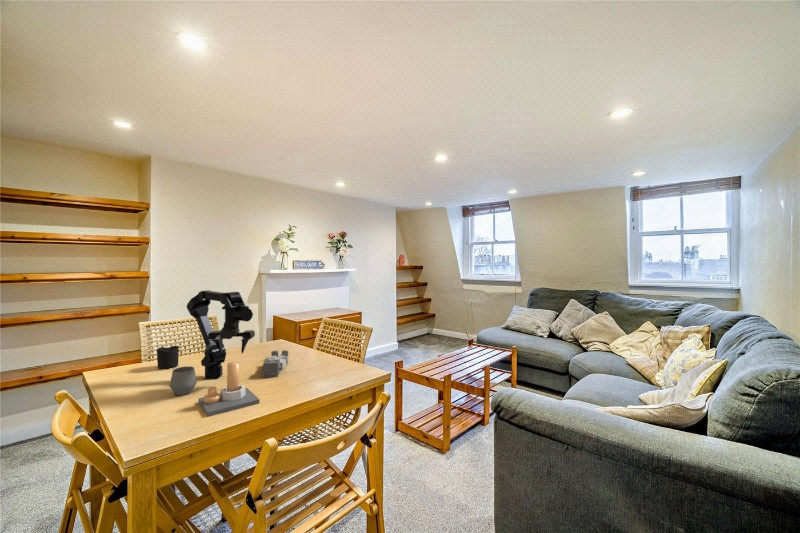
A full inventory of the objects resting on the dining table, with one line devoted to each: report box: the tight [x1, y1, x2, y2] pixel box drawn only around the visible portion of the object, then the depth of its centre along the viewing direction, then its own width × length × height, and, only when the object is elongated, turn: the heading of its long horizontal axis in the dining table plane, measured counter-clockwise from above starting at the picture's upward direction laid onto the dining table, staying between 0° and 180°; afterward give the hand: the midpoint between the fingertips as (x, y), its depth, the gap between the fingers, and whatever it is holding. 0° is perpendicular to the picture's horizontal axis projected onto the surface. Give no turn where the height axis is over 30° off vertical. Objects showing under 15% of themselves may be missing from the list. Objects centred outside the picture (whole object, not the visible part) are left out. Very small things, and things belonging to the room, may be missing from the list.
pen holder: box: [156, 345, 180, 370], centre depth 176 cm, size 9×9×10 cm
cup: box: [169, 365, 197, 396], centre depth 143 cm, size 10×9×10 cm
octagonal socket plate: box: [198, 384, 260, 417], centre depth 134 cm, size 16×18×6 cm
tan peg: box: [226, 361, 241, 392], centre depth 137 cm, size 4×4×13 cm
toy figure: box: [262, 349, 290, 379], centre depth 178 cm, size 11×7×30 cm
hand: (231, 353), depth 157 cm, fingers open, 9 cm apart
